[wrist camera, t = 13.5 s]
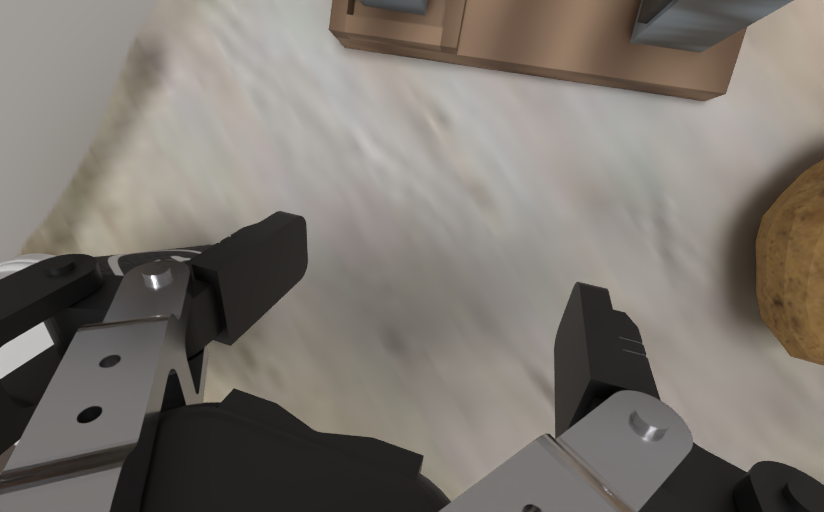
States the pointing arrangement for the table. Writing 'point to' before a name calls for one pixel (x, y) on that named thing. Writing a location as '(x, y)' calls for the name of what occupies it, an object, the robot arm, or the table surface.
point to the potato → (794, 266)
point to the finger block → (399, 5)
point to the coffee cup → (38, 336)
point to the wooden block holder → (569, 38)
